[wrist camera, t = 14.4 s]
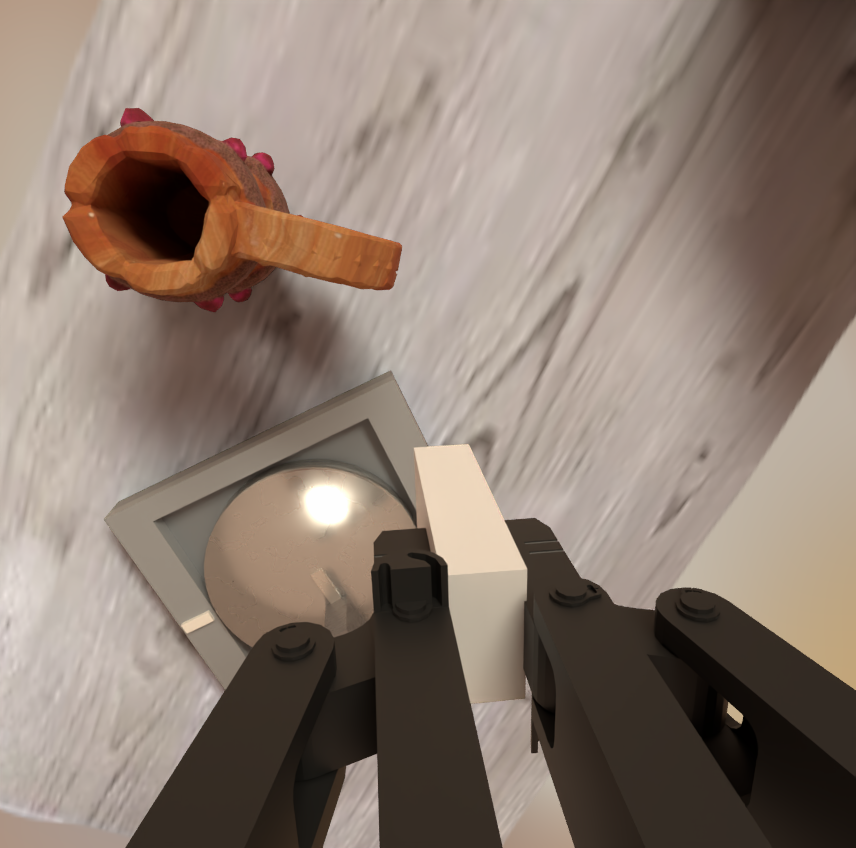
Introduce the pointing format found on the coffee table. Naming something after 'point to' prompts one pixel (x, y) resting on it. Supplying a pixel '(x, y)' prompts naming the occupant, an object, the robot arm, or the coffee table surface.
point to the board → (229, 470)
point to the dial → (300, 548)
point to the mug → (202, 219)
